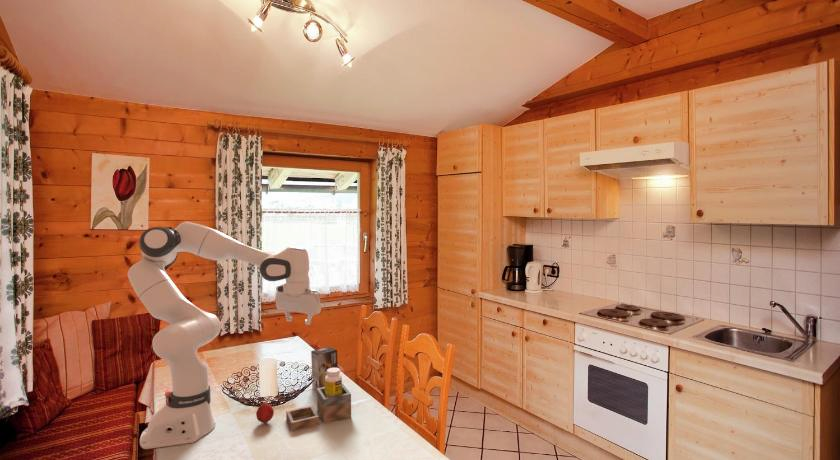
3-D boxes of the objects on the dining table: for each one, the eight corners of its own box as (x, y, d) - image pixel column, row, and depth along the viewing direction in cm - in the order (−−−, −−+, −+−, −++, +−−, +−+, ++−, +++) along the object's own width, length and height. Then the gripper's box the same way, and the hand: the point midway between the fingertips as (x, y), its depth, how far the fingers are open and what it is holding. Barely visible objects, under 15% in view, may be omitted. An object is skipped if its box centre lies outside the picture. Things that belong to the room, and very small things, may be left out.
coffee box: (330, 381, 193) (330, 345, 191) (338, 386, 188) (338, 349, 187) (311, 387, 187) (310, 350, 185) (318, 392, 182) (318, 354, 181)
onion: (257, 429, 153) (257, 406, 153) (255, 421, 158) (254, 400, 158) (275, 425, 156) (274, 403, 155) (272, 417, 161) (271, 396, 160)
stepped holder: (291, 431, 152) (291, 406, 151) (286, 418, 160) (285, 394, 160) (351, 417, 161) (350, 393, 161) (342, 406, 170) (342, 383, 170)
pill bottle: (337, 403, 159) (337, 374, 158) (322, 401, 161) (321, 372, 160) (345, 396, 165) (344, 367, 164) (330, 394, 167) (329, 365, 166)
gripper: (324, 288, 170) (324, 324, 171) (284, 284, 179) (285, 317, 180) (313, 292, 165) (314, 328, 166) (272, 287, 174) (273, 321, 175)
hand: (298, 322), depth 173 cm, fingers open, 8 cm apart
